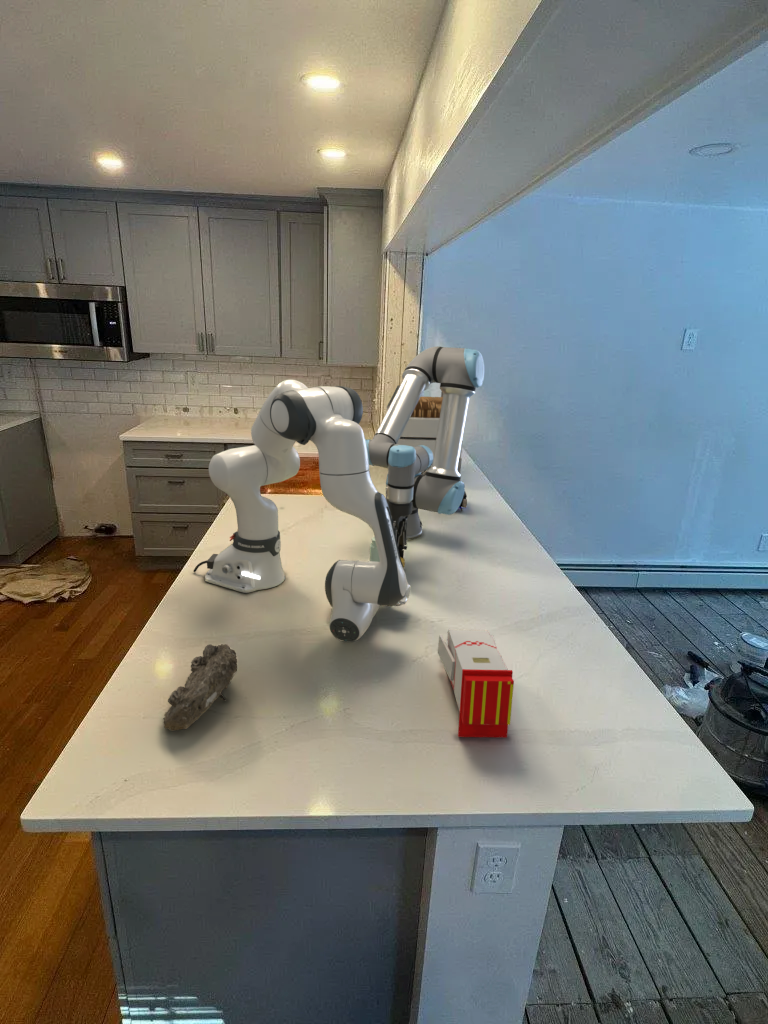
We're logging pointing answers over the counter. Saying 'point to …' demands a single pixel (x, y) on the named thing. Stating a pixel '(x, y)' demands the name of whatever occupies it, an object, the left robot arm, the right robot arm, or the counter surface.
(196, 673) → the fossil
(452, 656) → the toy
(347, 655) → the counter surface
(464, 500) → the figurine character
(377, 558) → the jar
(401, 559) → the lid
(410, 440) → the white slatted crate
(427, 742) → the counter surface
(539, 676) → the counter surface
